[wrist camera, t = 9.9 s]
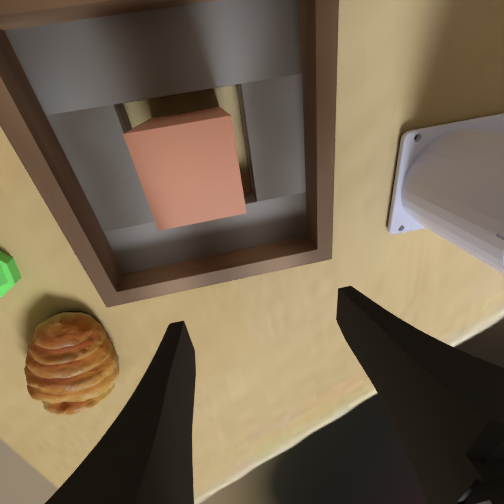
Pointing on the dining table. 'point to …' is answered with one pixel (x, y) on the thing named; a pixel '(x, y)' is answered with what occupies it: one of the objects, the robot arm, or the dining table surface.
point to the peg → (188, 167)
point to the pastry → (70, 363)
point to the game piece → (7, 273)
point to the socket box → (164, 84)
